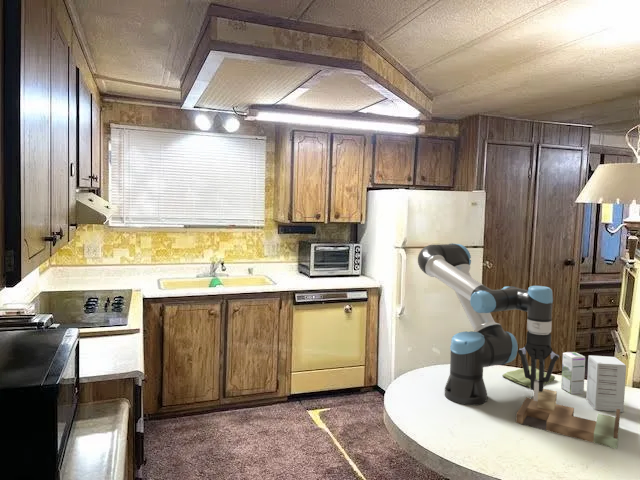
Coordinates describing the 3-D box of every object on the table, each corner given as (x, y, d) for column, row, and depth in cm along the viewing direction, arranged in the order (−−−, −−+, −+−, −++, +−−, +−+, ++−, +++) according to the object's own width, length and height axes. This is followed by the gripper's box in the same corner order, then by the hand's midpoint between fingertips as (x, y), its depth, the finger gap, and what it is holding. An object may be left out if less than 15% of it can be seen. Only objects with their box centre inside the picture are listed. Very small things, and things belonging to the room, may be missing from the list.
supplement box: (624, 413, 162) (627, 365, 160) (595, 410, 163) (597, 363, 162) (613, 401, 171) (615, 356, 169) (585, 399, 173) (587, 354, 171)
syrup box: (584, 393, 178) (586, 356, 176) (570, 394, 177) (572, 357, 175) (574, 387, 183) (576, 351, 182) (560, 388, 182) (562, 352, 181)
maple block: (537, 407, 159) (538, 392, 158) (540, 402, 163) (540, 388, 162) (553, 411, 156) (554, 396, 155) (556, 405, 160) (556, 391, 159)
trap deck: (516, 422, 154) (516, 405, 153) (525, 405, 167) (526, 389, 166) (616, 448, 138) (618, 429, 137) (619, 427, 151) (620, 409, 151)
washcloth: (500, 378, 194) (500, 370, 193) (530, 371, 201) (531, 364, 201) (526, 389, 182) (527, 381, 182) (557, 382, 189) (558, 374, 189)
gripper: (516, 331, 160) (513, 398, 161) (558, 337, 152) (555, 408, 154) (521, 326, 166) (518, 391, 167) (562, 332, 158) (559, 400, 160)
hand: (536, 399), depth 161 cm, fingers closed
